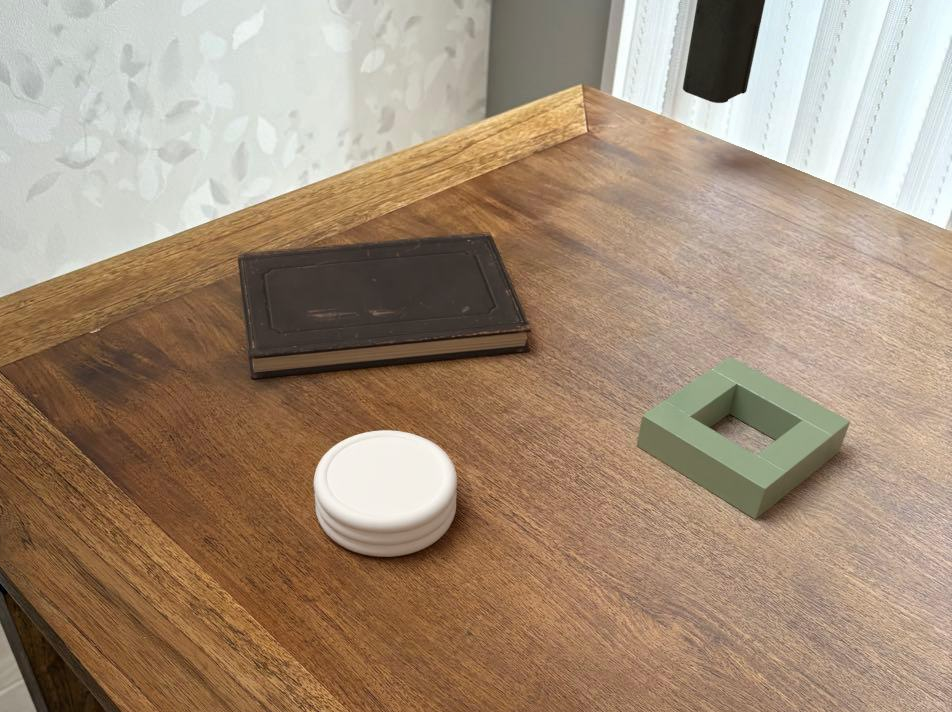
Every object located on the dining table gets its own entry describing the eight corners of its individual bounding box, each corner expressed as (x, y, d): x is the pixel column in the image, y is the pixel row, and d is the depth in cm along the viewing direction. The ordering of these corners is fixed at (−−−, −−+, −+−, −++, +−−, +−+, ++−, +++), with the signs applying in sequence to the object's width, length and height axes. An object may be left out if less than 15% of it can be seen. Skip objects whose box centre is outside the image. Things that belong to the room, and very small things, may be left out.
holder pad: (722, 386, 89) (729, 355, 87) (839, 451, 84) (851, 420, 81) (636, 445, 84) (642, 414, 82) (755, 519, 79) (765, 488, 76)
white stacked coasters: (443, 569, 75) (445, 533, 73) (300, 550, 76) (296, 513, 74) (465, 471, 82) (467, 435, 79) (334, 455, 83) (331, 419, 81)
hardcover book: (528, 351, 92) (531, 328, 91) (251, 379, 90) (248, 356, 88) (487, 250, 103) (489, 228, 102) (239, 272, 101) (236, 249, 99)
